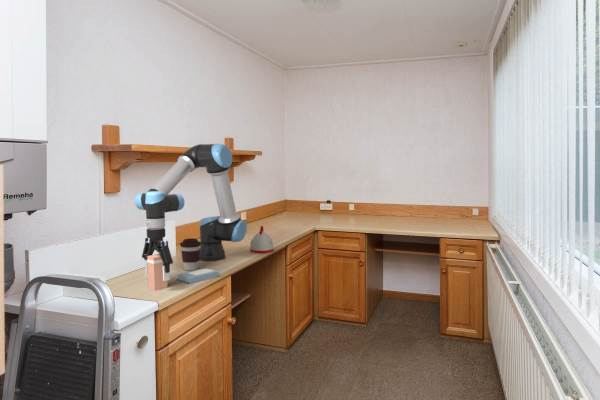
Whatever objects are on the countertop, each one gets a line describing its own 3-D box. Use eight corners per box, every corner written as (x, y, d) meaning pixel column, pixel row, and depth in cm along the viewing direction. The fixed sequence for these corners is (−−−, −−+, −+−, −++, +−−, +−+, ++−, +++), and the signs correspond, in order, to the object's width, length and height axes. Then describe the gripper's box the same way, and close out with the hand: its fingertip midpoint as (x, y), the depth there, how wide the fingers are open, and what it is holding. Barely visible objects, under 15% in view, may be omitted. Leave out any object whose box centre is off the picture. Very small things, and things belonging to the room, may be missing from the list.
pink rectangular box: (160, 285, 194) (159, 253, 193) (167, 287, 191) (166, 255, 190) (148, 288, 190) (147, 256, 188) (154, 290, 186) (153, 257, 185)
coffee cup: (191, 265, 230) (191, 237, 229) (205, 268, 224) (204, 239, 223) (176, 269, 222) (175, 240, 220) (190, 272, 216) (189, 242, 215)
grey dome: (275, 249, 273) (274, 224, 272) (271, 253, 259) (271, 228, 258) (252, 248, 274) (252, 224, 273) (247, 253, 261) (247, 227, 259)
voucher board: (205, 272, 215) (205, 267, 215) (219, 276, 209) (218, 270, 208) (175, 280, 203) (175, 274, 202) (188, 284, 196) (188, 278, 196)
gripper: (132, 226, 193) (134, 274, 195) (164, 232, 177) (166, 284, 179) (148, 224, 199) (149, 270, 201) (180, 229, 183) (182, 280, 184)
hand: (157, 277), depth 190 cm, fingers open, 13 cm apart
